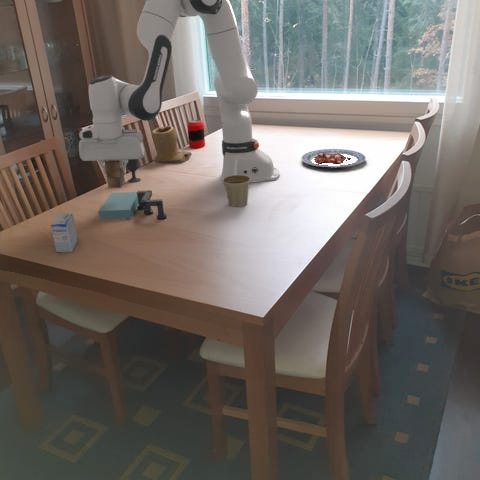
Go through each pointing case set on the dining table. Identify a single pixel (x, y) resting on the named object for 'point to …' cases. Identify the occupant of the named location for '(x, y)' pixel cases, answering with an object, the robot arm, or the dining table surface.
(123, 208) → the platform
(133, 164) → the sundae
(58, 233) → the medicine box
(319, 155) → the ceramic plate
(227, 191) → the flower pot
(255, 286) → the dining table surface
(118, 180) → the walnut block
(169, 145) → the tan hollow bent piece
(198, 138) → the soda can
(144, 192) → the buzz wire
